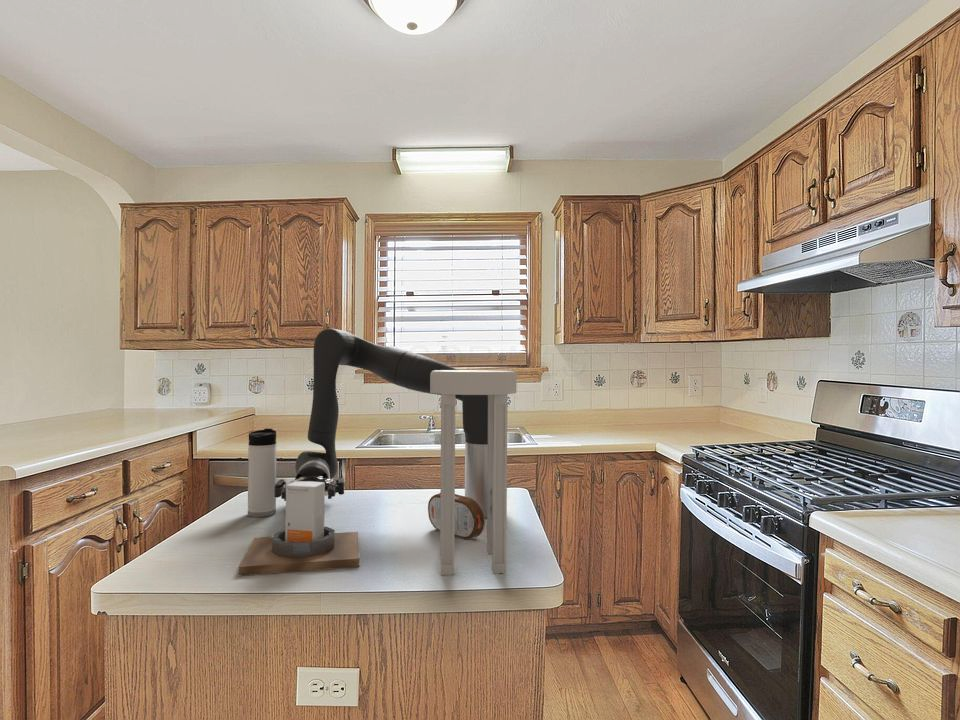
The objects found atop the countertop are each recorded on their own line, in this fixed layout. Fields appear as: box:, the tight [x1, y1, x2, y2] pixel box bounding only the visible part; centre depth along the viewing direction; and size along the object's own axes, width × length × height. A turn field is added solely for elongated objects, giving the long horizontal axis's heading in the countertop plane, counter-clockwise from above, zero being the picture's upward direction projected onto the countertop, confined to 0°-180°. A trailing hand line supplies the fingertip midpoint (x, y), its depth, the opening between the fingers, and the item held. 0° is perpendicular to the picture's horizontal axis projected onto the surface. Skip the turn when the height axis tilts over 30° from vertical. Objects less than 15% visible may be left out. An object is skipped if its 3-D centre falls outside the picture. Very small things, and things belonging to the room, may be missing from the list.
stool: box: [429, 369, 517, 576], centre depth 101 cm, size 16×16×35 cm
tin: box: [427, 492, 485, 540], centre depth 118 cm, size 15×3×8 cm, turn 47°
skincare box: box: [284, 481, 326, 542], centre depth 104 cm, size 6×4×12 cm
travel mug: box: [247, 427, 277, 518], centre depth 133 cm, size 6×7×20 cm
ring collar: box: [272, 525, 336, 558], centre depth 104 cm, size 11×11×2 cm
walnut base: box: [238, 531, 360, 576], centre depth 104 cm, size 20×16×2 cm
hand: (308, 495), depth 113 cm, fingers open, 8 cm apart
